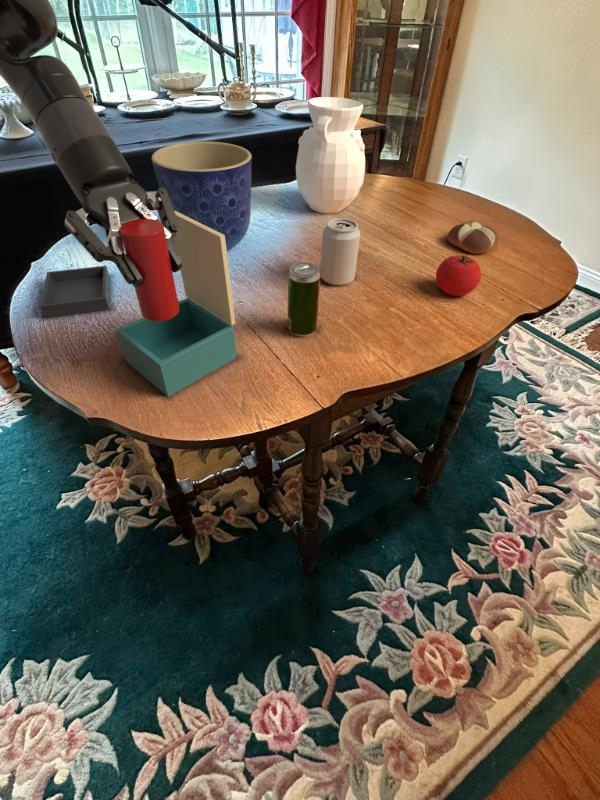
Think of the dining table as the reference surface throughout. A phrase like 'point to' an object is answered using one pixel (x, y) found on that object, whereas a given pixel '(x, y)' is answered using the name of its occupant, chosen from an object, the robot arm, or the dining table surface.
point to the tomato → (458, 275)
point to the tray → (76, 292)
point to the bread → (473, 237)
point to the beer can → (303, 298)
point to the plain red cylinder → (151, 268)
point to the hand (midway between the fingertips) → (159, 276)
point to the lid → (205, 267)
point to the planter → (208, 184)
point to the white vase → (331, 155)
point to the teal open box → (178, 346)
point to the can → (339, 251)
